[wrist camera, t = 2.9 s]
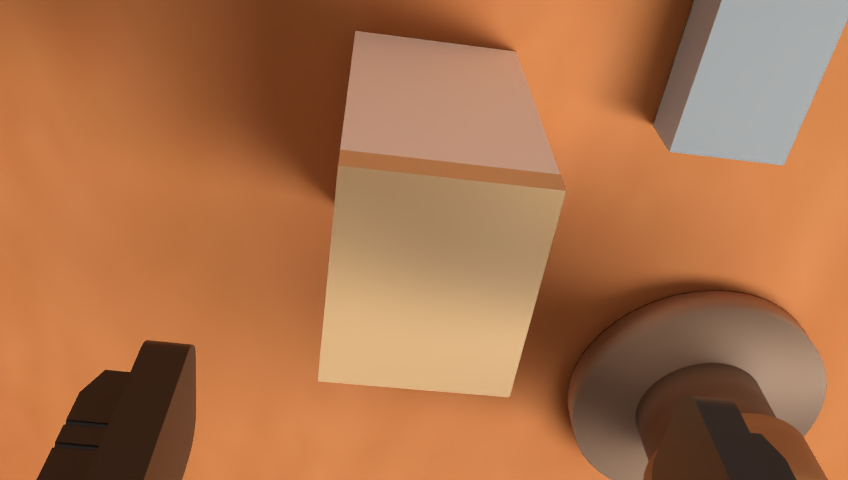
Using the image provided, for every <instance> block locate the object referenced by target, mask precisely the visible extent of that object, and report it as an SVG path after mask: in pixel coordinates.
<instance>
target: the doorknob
mask: <svg viewBox="0 0 848 480" xmlns="http://www.w3.org/2000/svg"><path fill="white" fill-rule="evenodd" d="M826 386H827V381H826V371H825V367H824V363H823V361H822V359H821V357H820V355H819V353H818V351H817V349H816V348H815V346H814V345H813V343H812V342H811V340H810V339H809V337H808V336H807V334H806V333H805V331H804V330H803V328H802V327H801V326H800V324H799V323H798V322H797V321H796V319H794V318H793V317H792V316H791V315H790V314H789V313H788V312H787V311H785V310H784V309H782V308H780V307H779V306H777V305H776V304H774V303H771V302H769V301H767V300H765V299H762V298H759V297H756V296H752V295H749V294H744V293H738V292H732V291H700V292H692V293H686V294H680V295H676V296H672V297H668V298H665V299H661V300H659V301H656V302H653V303H650V304H648V305H645V306H643V307H641V308H639V309H637V310H635V311H633V312H631V313H629V314H628V315H626V316H624V317H623V318H621V319H619V320H618V321H616V322H615V323H614V324H612V325H611V326H610V327H608V328H607V329H606V330H605V331H603V332H602V333H601V334H600V335H599V336H598V337H597V338H596V339H595V340H594V341H593V342H592V343H591V344H590V346H589V347H588V348H587V349H586V351H585V352H584V353H583V354H582V356H581V358H580V359H579V361H578V363H577V364H576V366H575V369H574V371H573V374H572V376H571V379H570V383H569V387H568V397H567V403H568V411H569V416H570V420H571V424H572V428H573V432H574V435H575V439H576V442H577V445H578V447H579V449H580V450H581V452H582V454H583V456H584V457H585V458H586V459H587V461H588V462H589V463H590V464H591V465H592V466H593V467H594V468H595V469H597V470H598V471H599V472H600V473H602V474H603V475H605V476H606V477H608V478H610V479H612V480H652V467H653V462H654V458H655V455H656V453H657V451H658V448H659V446H660V444H661V441H662V439H663V437H664V435H665V432H666V430H667V428H668V425H669V423H670V421H671V419H672V416H673V414H674V412H675V409H676V407H677V405H678V403H679V401H680V400H681V398H682V397H684V396H686V395H690V396H700V397H711V398H721V399H729V400H732V401H733V402H734V403H735V404H736V406H737V407H738V409H739V411H740V413H741V415H742V417H743V419H744V421H745V423H746V425H747V427H748V429H749V431H750V433H759V434H762V435H763V436H764V437H765V438H766V439H767V440H768V441H769V442H770V443H771V444H772V445H773V446H774V447H775V448H776V450H777V451H778V452H779V453H780V454H781V455H782V456H783V457H784V458H785V459H786V461H787V462H788V464H789V466H790V468H791V470H792V472H793V474H794V476H795V478H796V480H828V479H827V478H826V476H825V474H824V472H823V470H822V469H821V467H820V465H819V463H818V462H817V460H816V458H815V456H814V455H813V453H812V451H811V449H810V448H809V446H808V444H807V442H806V441H805V439H804V436H805V435H806V433H807V432H808V431H809V430H810V428H811V427H812V425H813V424H814V422H815V421H816V419H817V417H818V415H819V413H820V411H821V408H822V405H823V402H824V399H825V394H826Z"/></svg>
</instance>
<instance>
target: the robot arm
mask: <svg viewBox="0 0 848 480" xmlns="http://www.w3.org/2000/svg"><path fill="white" fill-rule="evenodd" d="M195 420H196V355H195V347H194V345H190V344H180V343H170V342H159V341H149V340H146V341H145V342H144V343H143V345H142V347H141V349H140V351H139V354H138V356H137V358H136V361H135V363H134V365H133V368H132V370H131V372H122V371H111V370H105V371H104V372H102V373H101V374H100V375H99V376H98V377H97V378H96V379H94V380H93V381H92V382H91V383H90V384H89V385H87V386H86V387H85V388H84V389H83V390H82V391H81V392H80V393H79V395H78V397H77V399H76V401H75V403H74V405H73V407H72V409H71V411H70V413H69V415H68V417H67V419H66V424H65V425H63V427H62V429H61V431H60V433H59V435H58V437H57V439H56V441H55V447H54V448H52V450H51V452H50V454H49V456H48V458H47V460H46V462H45V464H44V466H43V468H42V470H41V472H40V474H39V476H38V478H37V480H182V478H183V475H184V472H185V468H186V465H187V462H188V458H189V455H190V451H191V447H192V442H193V436H194V429H195ZM652 480H796V478H795V476H794V474H793V472H792V470H791V468H790V466H789V464H788V462H787V461H786V459H785V458H784V457H783V456H782V455H781V454H780V453H779V452H778V451H777V450H776V448H775V447H774V446H773V445H772V444H771V443H770V442H769V441H768V440H767V439H766V438H765V437H764V436H763V435H762V434H759V433H750V431H749V429H748V427H747V425H746V423H745V421H744V419H743V417H742V415H741V413H740V411H739V409H738V407H737V406H736V404H735V403H734V402H733V401H732V400H729V399H721V398H711V397H700V396H690V395H686V396H684V397H682V398H681V400H680V401H679V403H678V405H677V407H676V409H675V412H674V414H673V416H672V419H671V421H670V423H669V425H668V428H667V430H666V432H665V435H664V437H663V439H662V441H661V444H660V446H659V448H658V451H657V453H656V455H655V458H654V462H653V467H652Z"/></svg>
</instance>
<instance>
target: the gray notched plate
mask: <svg viewBox="0 0 848 480" xmlns="http://www.w3.org/2000/svg"><path fill="white" fill-rule="evenodd" d="M847 19H848V0H694V2H693V5H692V8H691V11H690V14H689V18H688V21H687V24H686V27H685V30H684V33H683V36H682V39H681V42H680V45H679V48H678V51H677V54H676V57H675V60H674V63H673V66H672V70H671V73H670V76H669V79H668V82H667V85H666V88H665V91H664V94H663V97H662V100H661V103H660V106H659V109H658V112H657V115H656V118H655V122H654V125H653V127H654V128H655V130H656V131H657V133H658V135H659V136H660V138H661V139H662V141H663V142H664V144H665V146H666V147H667V149H668V150H669V152H675V153H684V154H692V155H700V156H709V157H717V158H726V159H734V160H743V161H751V162H759V163H768V164H776V165H784V164H785V161H786V159H787V157H788V154H789V152H790V150H791V148H792V145H793V143H794V141H795V138H796V136H797V134H798V132H799V129H800V127H801V125H802V122H803V120H804V118H805V116H806V113H807V111H808V109H809V106H810V104H811V102H812V100H813V97H814V95H815V93H816V90H817V88H818V86H819V84H820V81H821V79H822V77H823V74H824V72H825V70H826V68H827V65H828V63H829V61H830V58H831V56H832V54H833V52H834V49H835V47H836V45H837V42H838V40H839V38H840V36H841V33H842V31H843V29H844V26H845V24H846V22H847Z"/></svg>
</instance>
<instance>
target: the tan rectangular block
mask: <svg viewBox="0 0 848 480" xmlns="http://www.w3.org/2000/svg"><path fill="white" fill-rule="evenodd" d="M565 194H566V189H565V186H564V183H563V180H562V178H561V175H560V172H559V169H558V167H557V164H556V161H555V158H554V155H553V153H552V150H551V147H550V144H549V142H548V139H547V136H546V133H545V130H544V128H543V125H542V122H541V119H540V117H539V114H538V111H537V108H536V106H535V103H534V100H533V97H532V94H531V92H530V89H529V86H528V83H527V81H526V78H525V75H524V72H523V70H522V67H521V64H520V61H519V58H518V56H517V53H516V51H508V50H501V49H493V48H485V47H477V46H470V45H462V44H454V43H446V42H439V41H431V40H423V39H415V38H408V37H400V36H392V35H385V34H377V33H369V32H361V31H355V38H354V46H353V53H352V61H351V69H350V77H349V84H348V92H347V100H346V108H345V115H344V123H343V131H342V138H341V146H340V154H339V162H338V171H337V181H336V192H335V203H334V213H333V224H332V234H331V245H330V256H329V266H328V277H327V288H326V298H325V309H324V319H323V330H322V341H321V351H320V362H319V373H318V381H320V382H332V383H344V384H356V385H368V386H380V387H392V388H404V389H416V390H428V391H440V392H452V393H464V394H476V395H487V396H499V397H510V394H511V390H512V386H513V383H514V379H515V376H516V372H517V368H518V365H519V361H520V357H521V354H522V350H523V346H524V343H525V339H526V336H527V332H528V328H529V325H530V321H531V317H532V314H533V310H534V307H535V303H536V299H537V296H538V292H539V288H540V285H541V281H542V278H543V274H544V270H545V267H546V263H547V259H548V256H549V252H550V248H551V245H552V241H553V238H554V234H555V230H556V227H557V223H558V219H559V216H560V212H561V209H562V205H563V201H564V198H565Z"/></svg>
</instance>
